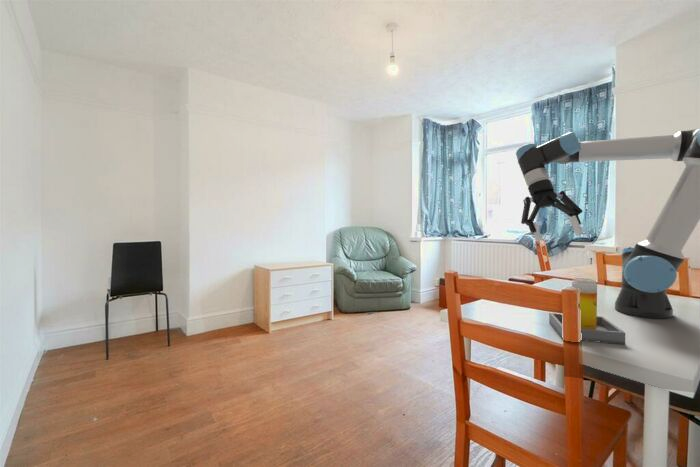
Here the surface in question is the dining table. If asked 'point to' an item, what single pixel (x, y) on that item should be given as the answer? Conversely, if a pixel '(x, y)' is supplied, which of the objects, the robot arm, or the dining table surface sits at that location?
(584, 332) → the tray
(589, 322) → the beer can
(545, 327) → the dining table surface
